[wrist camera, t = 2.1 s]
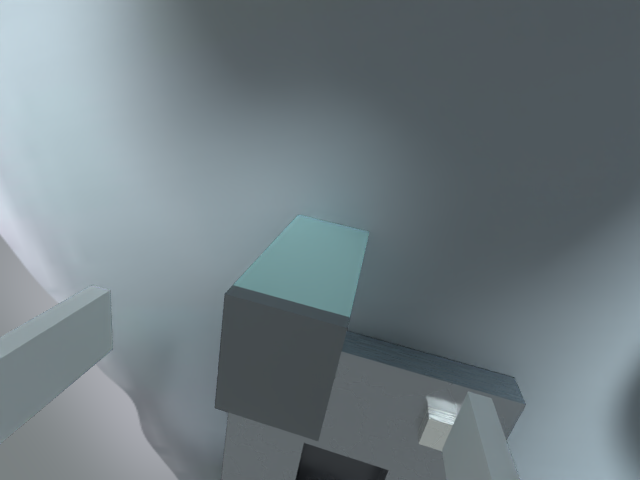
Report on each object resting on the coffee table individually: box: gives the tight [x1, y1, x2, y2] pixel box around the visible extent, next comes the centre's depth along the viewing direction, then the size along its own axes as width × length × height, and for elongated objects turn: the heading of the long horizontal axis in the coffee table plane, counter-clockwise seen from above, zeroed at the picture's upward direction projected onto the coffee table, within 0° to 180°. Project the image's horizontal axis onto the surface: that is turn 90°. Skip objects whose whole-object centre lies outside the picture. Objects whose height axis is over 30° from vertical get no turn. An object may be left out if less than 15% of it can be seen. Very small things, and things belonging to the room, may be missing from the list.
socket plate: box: [221, 331, 526, 480], centre depth 23 cm, size 18×16×3 cm
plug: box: [215, 215, 369, 441], centre depth 16 cm, size 5×4×9 cm
